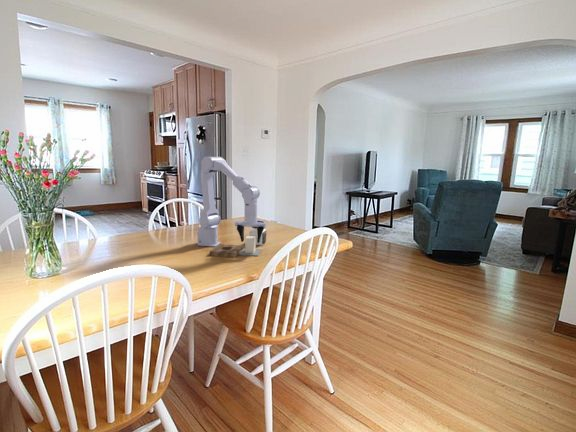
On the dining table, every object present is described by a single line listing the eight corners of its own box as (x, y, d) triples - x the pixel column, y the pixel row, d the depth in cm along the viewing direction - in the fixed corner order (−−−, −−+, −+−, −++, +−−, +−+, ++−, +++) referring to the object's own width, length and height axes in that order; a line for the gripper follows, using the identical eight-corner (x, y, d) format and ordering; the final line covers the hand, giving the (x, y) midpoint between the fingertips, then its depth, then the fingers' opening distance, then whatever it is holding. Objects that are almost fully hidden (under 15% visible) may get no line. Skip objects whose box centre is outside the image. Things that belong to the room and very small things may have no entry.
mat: (238, 254, 145) (238, 253, 145) (243, 249, 154) (243, 248, 153) (257, 256, 144) (257, 255, 144) (261, 250, 153) (261, 249, 152)
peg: (245, 252, 147) (245, 238, 145) (247, 250, 151) (247, 235, 149) (253, 253, 146) (253, 238, 145) (255, 250, 150) (255, 236, 149)
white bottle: (262, 245, 160) (262, 222, 158) (249, 244, 162) (249, 221, 159) (266, 242, 167) (266, 220, 165) (253, 241, 168) (253, 219, 166)
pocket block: (209, 255, 143) (209, 251, 142) (218, 247, 155) (218, 243, 154) (235, 257, 141) (235, 252, 141) (242, 249, 153) (242, 245, 153)
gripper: (232, 213, 142) (232, 243, 145) (264, 215, 140) (264, 245, 143) (237, 211, 149) (237, 239, 151) (267, 212, 147) (266, 240, 150)
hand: (250, 241), depth 148 cm, fingers open, 7 cm apart
